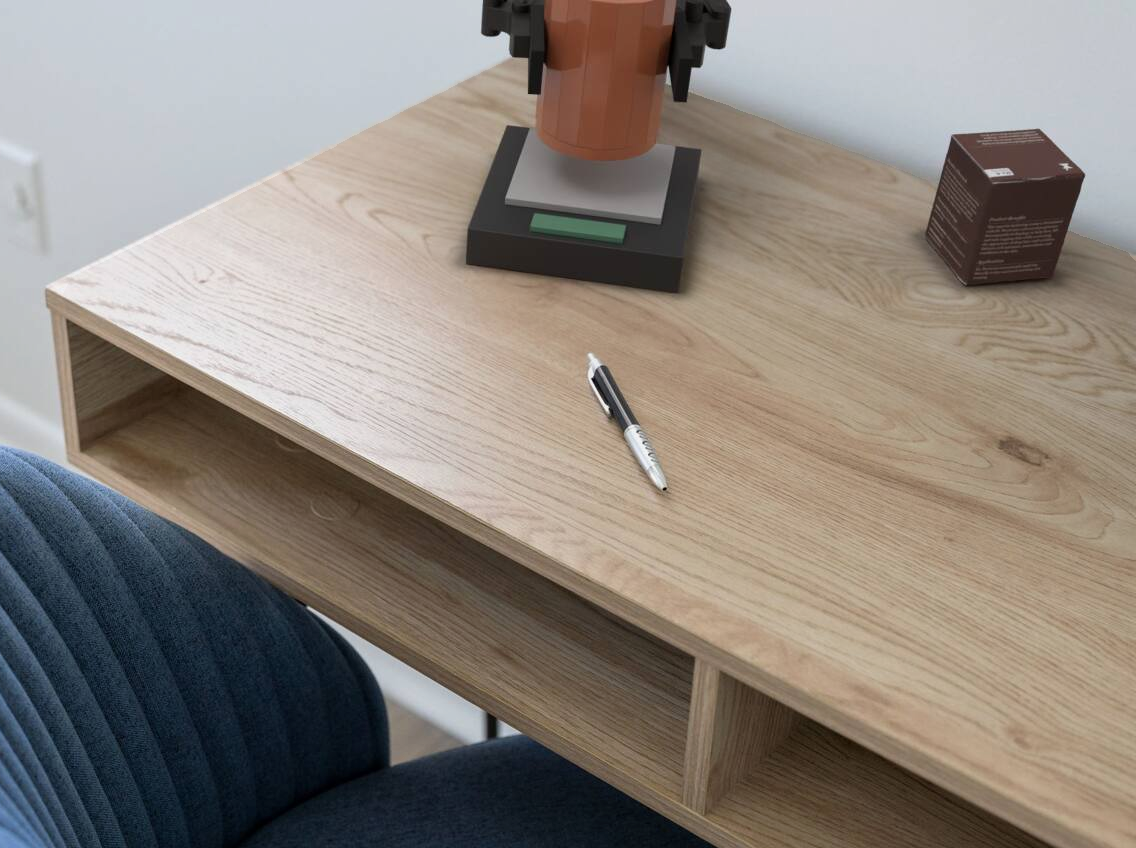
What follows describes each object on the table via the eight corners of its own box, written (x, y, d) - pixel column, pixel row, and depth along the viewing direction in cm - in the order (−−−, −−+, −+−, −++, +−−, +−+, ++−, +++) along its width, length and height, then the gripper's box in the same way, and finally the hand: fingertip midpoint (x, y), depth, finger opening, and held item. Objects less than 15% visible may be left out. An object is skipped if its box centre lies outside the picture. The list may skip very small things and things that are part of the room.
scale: (696, 182, 108) (703, 141, 106) (678, 293, 97) (684, 250, 95) (504, 158, 110) (507, 117, 108) (465, 264, 99) (467, 221, 97)
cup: (663, 112, 103) (684, -41, 97) (651, 168, 97) (673, 9, 91) (545, 97, 104) (558, -55, 98) (526, 152, 98) (539, -6, 92)
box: (1010, 230, 104) (1041, 126, 99) (1054, 281, 99) (1089, 174, 95) (921, 237, 103) (949, 132, 98) (962, 288, 98) (992, 180, 94)
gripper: (740, -10, 113) (778, 145, 95) (444, -25, 113) (428, 126, 96) (757, -118, 108) (801, 24, 90) (449, -134, 109) (433, 5, 91)
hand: (609, 76), depth 93 cm, fingers closed on cup, 8 cm apart
